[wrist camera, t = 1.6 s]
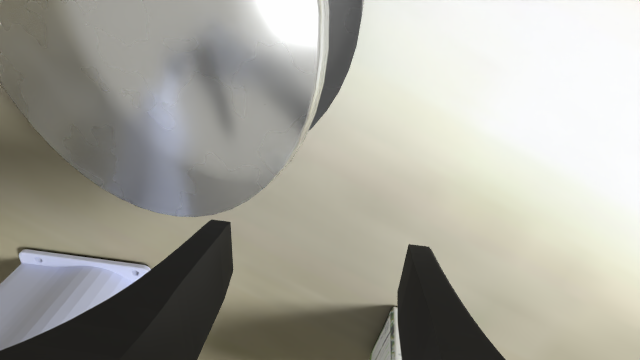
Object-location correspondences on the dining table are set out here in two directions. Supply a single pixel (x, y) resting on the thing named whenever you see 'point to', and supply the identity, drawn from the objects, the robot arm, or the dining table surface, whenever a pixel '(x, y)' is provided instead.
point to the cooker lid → (169, 91)
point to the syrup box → (388, 340)
